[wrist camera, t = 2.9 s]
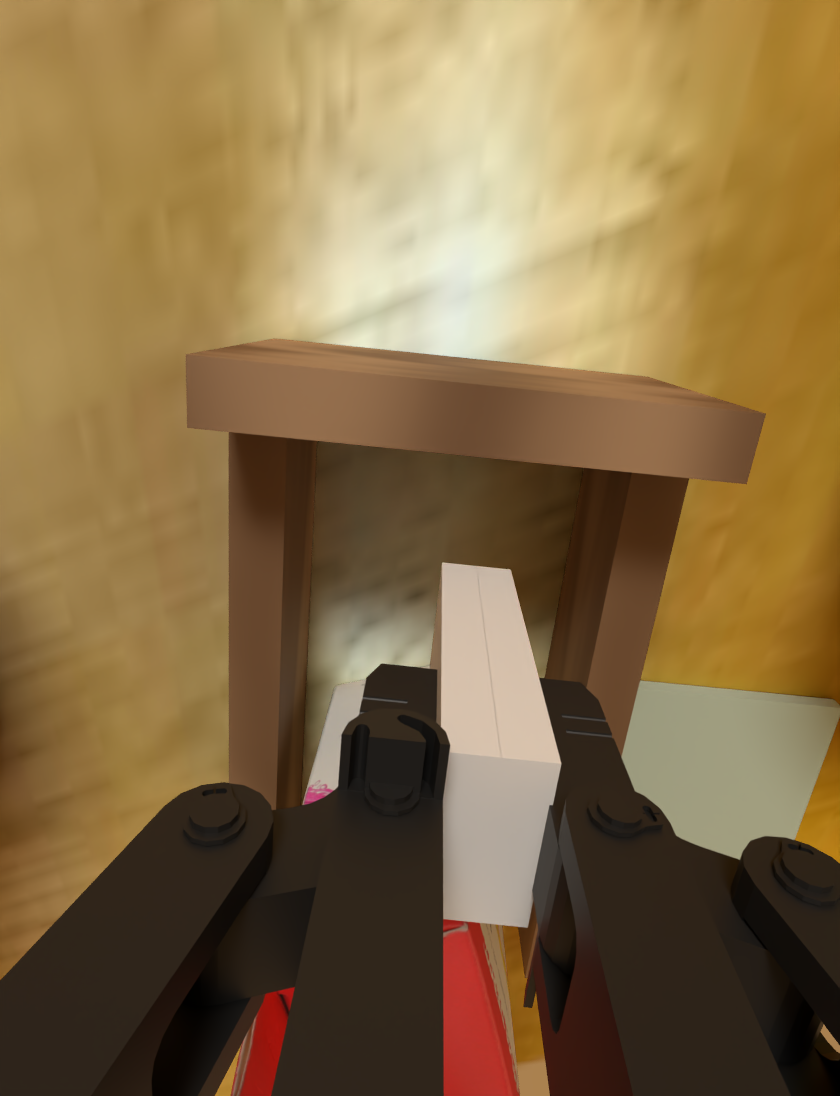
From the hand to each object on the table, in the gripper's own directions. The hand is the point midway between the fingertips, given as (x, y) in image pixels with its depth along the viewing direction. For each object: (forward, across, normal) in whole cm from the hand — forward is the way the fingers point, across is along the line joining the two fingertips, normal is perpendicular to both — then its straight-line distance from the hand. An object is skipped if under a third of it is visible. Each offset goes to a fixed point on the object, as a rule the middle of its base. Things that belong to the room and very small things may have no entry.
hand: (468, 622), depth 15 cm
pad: (+9, +10, -11) cm, 18 cm away
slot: (+9, 0, -5) cm, 10 cm away
